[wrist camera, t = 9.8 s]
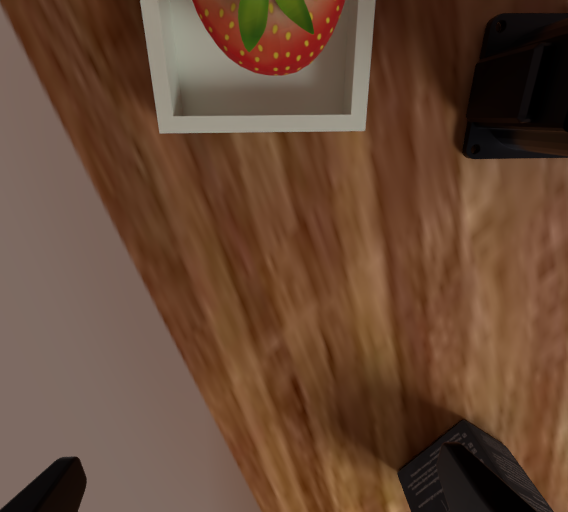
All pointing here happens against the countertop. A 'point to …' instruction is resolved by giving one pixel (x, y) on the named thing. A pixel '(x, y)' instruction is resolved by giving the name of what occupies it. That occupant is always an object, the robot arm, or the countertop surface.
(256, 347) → the countertop surface
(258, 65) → the fruit
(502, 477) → the box
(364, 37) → the bin
